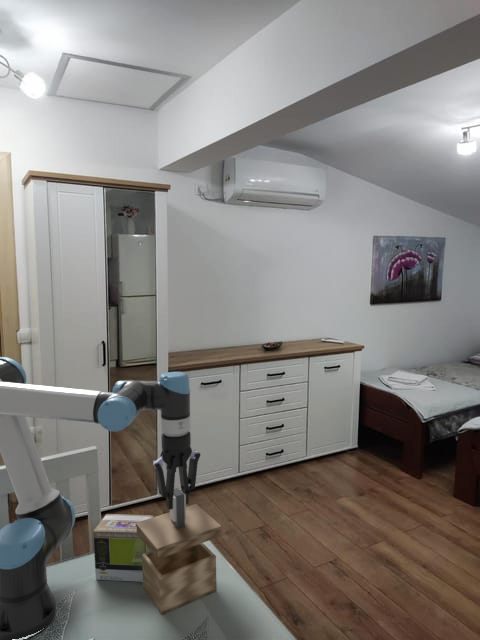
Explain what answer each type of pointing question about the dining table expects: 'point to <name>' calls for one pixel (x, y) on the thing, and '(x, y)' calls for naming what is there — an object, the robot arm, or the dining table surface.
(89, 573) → the dining table surface
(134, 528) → the tea box
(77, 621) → the dining table surface
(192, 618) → the dining table surface
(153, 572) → the wooden box
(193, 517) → the lid
